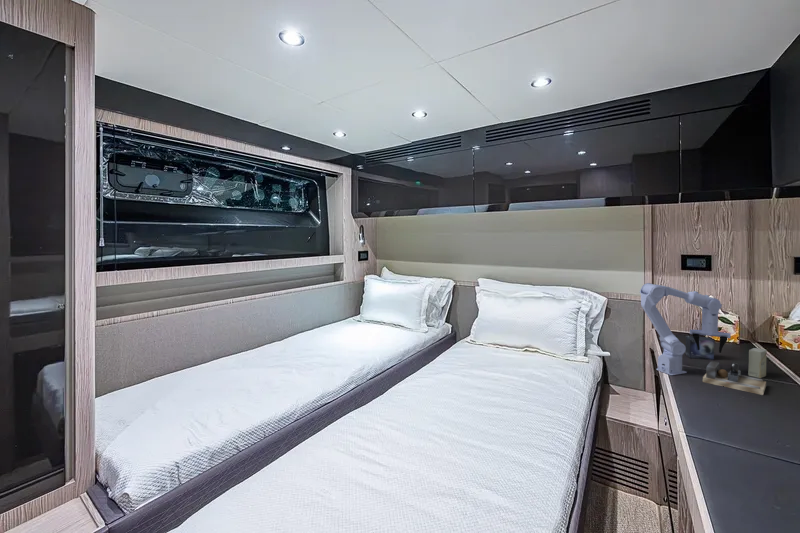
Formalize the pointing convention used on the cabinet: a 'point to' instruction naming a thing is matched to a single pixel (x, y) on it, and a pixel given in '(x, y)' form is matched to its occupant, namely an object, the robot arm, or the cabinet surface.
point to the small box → (705, 348)
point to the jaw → (734, 372)
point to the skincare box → (757, 362)
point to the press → (721, 379)
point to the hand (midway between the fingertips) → (709, 350)
